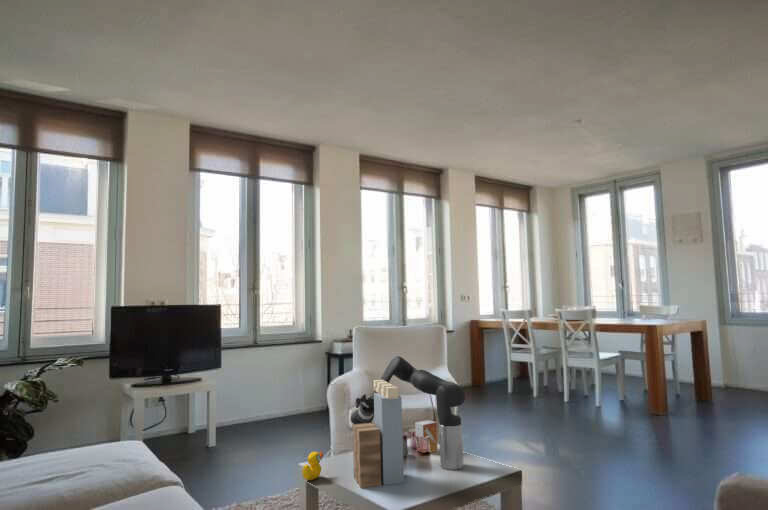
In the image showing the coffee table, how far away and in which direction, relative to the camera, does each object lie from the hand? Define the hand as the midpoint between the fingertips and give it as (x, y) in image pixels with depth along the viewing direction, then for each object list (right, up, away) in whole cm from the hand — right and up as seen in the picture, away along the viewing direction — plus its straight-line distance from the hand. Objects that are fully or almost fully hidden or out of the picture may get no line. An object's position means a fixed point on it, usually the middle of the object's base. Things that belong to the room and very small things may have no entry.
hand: (374, 395), depth 218 cm
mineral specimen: (+11, -29, +7) cm, 32 cm away
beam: (+5, +5, -16) cm, 18 cm away
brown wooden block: (-2, -26, -25) cm, 36 cm away
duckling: (-24, -27, -20) cm, 42 cm away
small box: (+24, -29, +13) cm, 40 cm away
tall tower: (+6, -26, -22) cm, 35 cm away
